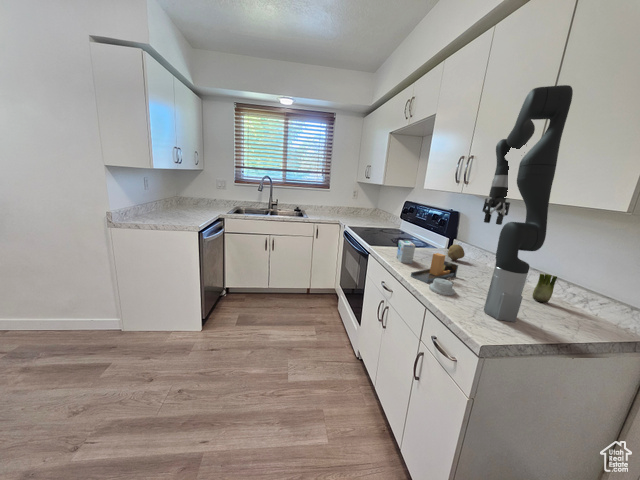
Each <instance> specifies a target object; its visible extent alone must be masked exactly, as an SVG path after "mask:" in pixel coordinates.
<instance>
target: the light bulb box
mask: <svg viewBox="0 0 640 480" xmlns="http://www.w3.org/2000/svg"><path fill="white" fill-rule="evenodd" d="M415 250H416V244H414V243H413V242H412V241H411V240H402V239H398V245H397V252H396V257H395V258H396V259H397V260H398V262H400V263H401V264H411V265H412V264H413V261H414V255H415Z"/></svg>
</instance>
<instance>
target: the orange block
mask: <svg viewBox="0 0 640 480" xmlns="http://www.w3.org/2000/svg"><path fill="white" fill-rule="evenodd" d="M445 259H446V254H442V253H439V252H437V253H433V254H432V258H431V263H430V268H429V269H430V272H429V273H430V274H433V275H435V276H439V275H445V274H450V270H446V271H443V272H442V270H443V265H444V261H446V260H445Z"/></svg>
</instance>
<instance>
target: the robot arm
mask: <svg viewBox="0 0 640 480" xmlns="http://www.w3.org/2000/svg"><path fill="white" fill-rule="evenodd" d="M573 90H574V89H573V87H572V86H571V85H567V84H563V85H562V84H561V85H551V86H549V85H548V86H539V87H534V88H533V89H532V90H531V89H530V91H529V92H528V94H527V96H526V97H525V98H524V101H523V104H522V105H521V108H520V111H519V113H518V116H517V118H516V121H515V123H514V126H513V128H512V129H511V131H510V133H508V135H507V137H506V138H503V139H500V140H499V141H498V142H497V144H496V146H495V155H496V167H495V172H494V176H493V179H492V181H491V187H490V190H489V195H488V197H489V198H487V197H486V198H485V200H484V204H483V206H482V213H484V215H485V216H484V219H483V223H485V224H490V223H491V219H492V214H493V213H494V212H496V214H497V216H496V221H495V225H501V226H502V224H503V219H504V217H506V216H508V215H509V210H510V205H511V202H509V201H507V200H509V198H504V197H506V196H507V192H508V191H507V190H508V170H509V166H508V161H509V160H507V159H506V157H505V155H506V154H507V152H509V150H510V148H511V147H512V148H516V149H520V148H521V147H522V146H523V145H525V144H526V143H528V142H529V140H530V139H532V137H533V135H534V134H535V131H536V127H535V124H534V122H533V121H534V120H535V121H537V120H539V121H540V120H549V123H548V126H547V128H546V131H545V132H544V134H543V135H542V136H541V137H540V139H539V140H538V141H537V142H536V143H535V144H534V145H533V146H532V147H531V149H529V150H528V151H527V153H526V154H525V155H524V156H523V157H522V159H521V160H520V162H519V165H518V171H517V177H516V186H517V189H518V191H519V193H520V195H521V199H523V203H524V205H525V209H526V210H525V211H526V212H525V213H526V214H525V221H524V222H520V221H519V222H518V221H508V222H507V223H505V224H504V225H503V226H502V228H501V229H500V233H499V237H498V242H497V247H496V252H495V265H494V269H493V272H492V277H491V280H490V282H489V283H490V284H489V287H488V290H487V291H488V292H487V295H486V299H485V303H484V307H483V312H484V313H485V314H487V315H489V316H491V317H493V318H495V319H496V320H499V321H506V322H512V323H513V322H516V321H517V318H518V314H519V311H520V308H521V304H522V301H523V297H524V296H522V295H523V291H524V288H525V285H526V281H527V277H528V274H529V271H530V264H529V263H528V262H526V261H525V260H522V259H520V258H519V251H523V252H537V251H539V250H540V249H541V248H542V247H543V246H544V244H545V241H546V235H547V230H548V228H547V227H548V212H549V205H550V204H549V203H550V198H551V192H552V187H553V182H554V178H555V175H556V169H557V163H558V156H559V151H560V147H561V141H562V136H563V132H564V129H565V125H566V122H567V118H568V115H569V111H570V108H571V105H572V100H573ZM526 145H527V144H526Z"/></svg>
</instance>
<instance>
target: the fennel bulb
mask: <svg viewBox="0 0 640 480" xmlns="http://www.w3.org/2000/svg"><path fill="white" fill-rule="evenodd" d="M557 279H558V275H557V276H556V275H553V276H552V275H551V274H548V273H539V276H538V282H537V284H536V285H535V287H534V289H533V291H532V299H533V300H534V301H537V302H540V303H545V304H546V303H547V304H548V302H549V301H550V299H551V298H552V295H553V293H554V290H555V289H554V287H555V284H556V281H557Z"/></svg>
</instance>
